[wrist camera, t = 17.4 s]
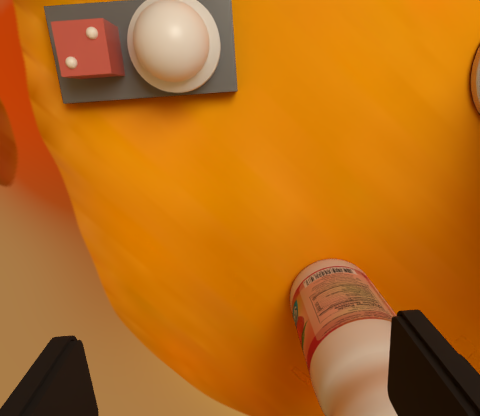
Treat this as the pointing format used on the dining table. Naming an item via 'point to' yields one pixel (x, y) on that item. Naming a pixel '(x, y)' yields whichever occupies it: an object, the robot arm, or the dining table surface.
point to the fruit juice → (344, 338)
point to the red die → (88, 48)
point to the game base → (132, 82)
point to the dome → (174, 44)
